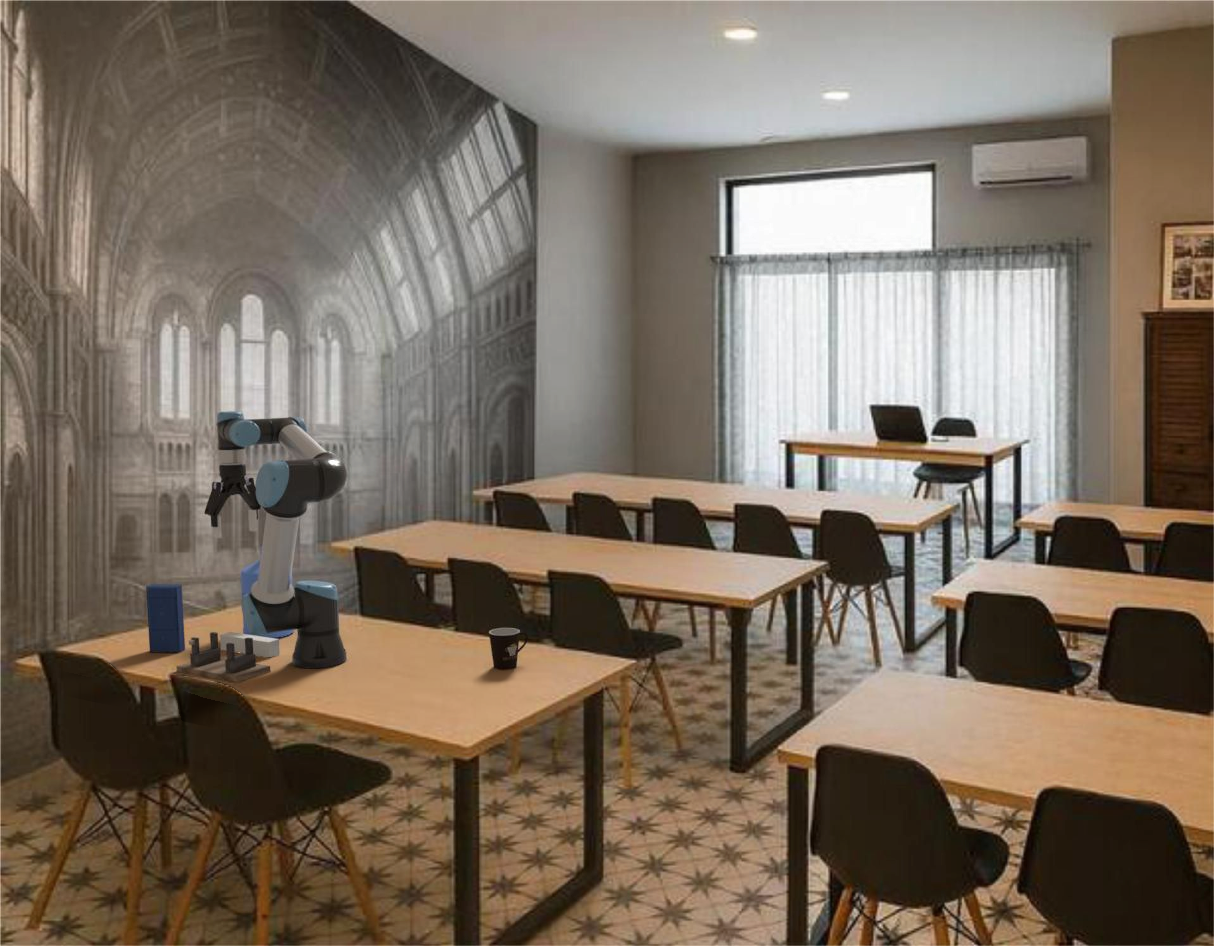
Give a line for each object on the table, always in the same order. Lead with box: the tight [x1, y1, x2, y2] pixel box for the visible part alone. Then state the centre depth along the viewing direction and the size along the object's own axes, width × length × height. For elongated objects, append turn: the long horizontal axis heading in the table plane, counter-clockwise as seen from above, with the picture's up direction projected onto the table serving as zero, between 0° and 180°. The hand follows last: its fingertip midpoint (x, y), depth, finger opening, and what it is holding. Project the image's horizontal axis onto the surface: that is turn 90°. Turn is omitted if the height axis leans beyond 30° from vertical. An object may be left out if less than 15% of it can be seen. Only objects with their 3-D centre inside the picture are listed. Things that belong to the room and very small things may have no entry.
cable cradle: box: [176, 631, 271, 683], centre depth 317 cm, size 24×12×10 cm, turn 60°
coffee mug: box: [488, 627, 529, 671], centre depth 318 cm, size 12×9×10 cm
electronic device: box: [145, 583, 186, 653], centre depth 340 cm, size 10×5×20 cm, turn 84°
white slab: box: [219, 631, 281, 658], centre depth 337 cm, size 20×4×5 cm, turn 61°
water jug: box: [240, 546, 295, 639], centre depth 358 cm, size 16×16×28 cm
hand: (235, 534), depth 338 cm, fingers open, 13 cm apart
